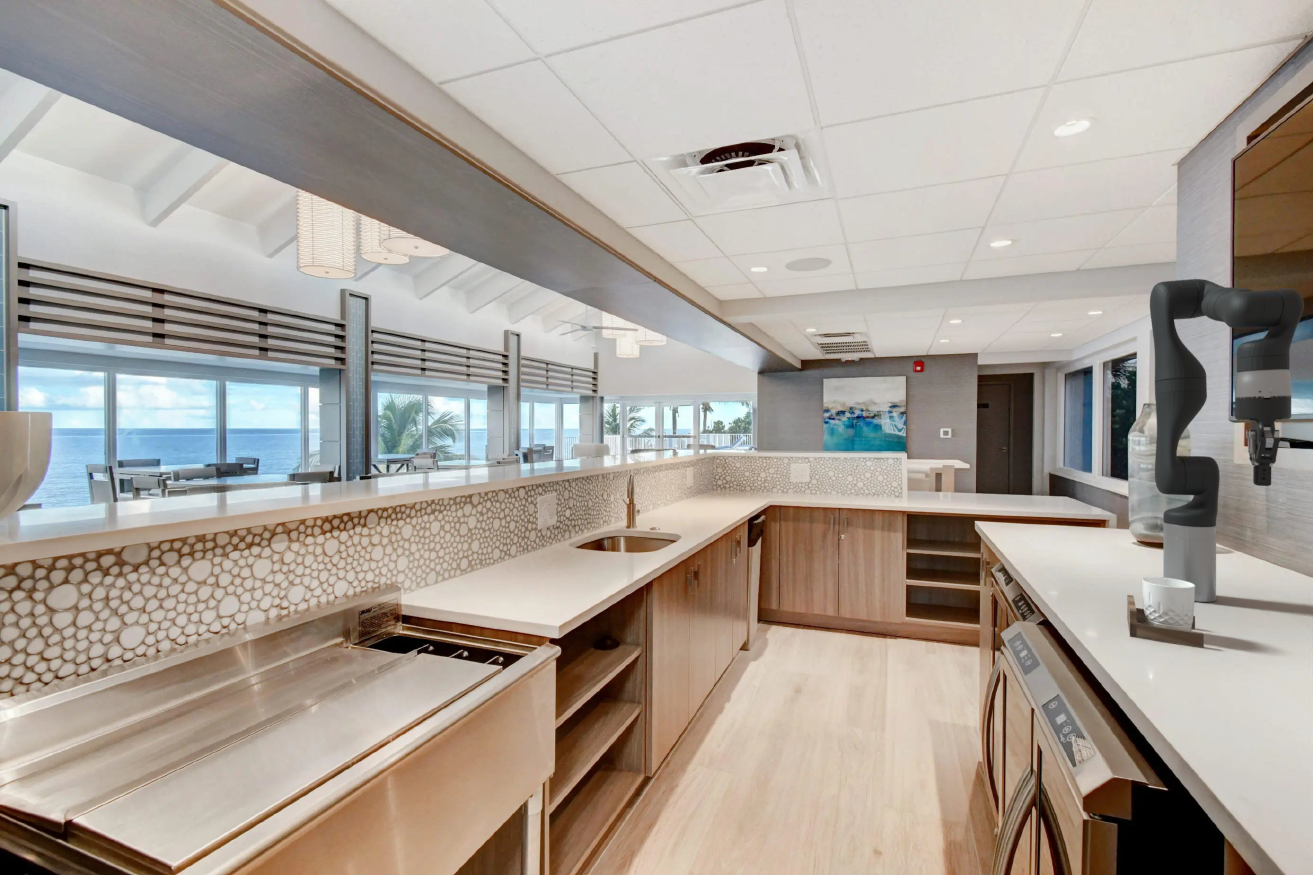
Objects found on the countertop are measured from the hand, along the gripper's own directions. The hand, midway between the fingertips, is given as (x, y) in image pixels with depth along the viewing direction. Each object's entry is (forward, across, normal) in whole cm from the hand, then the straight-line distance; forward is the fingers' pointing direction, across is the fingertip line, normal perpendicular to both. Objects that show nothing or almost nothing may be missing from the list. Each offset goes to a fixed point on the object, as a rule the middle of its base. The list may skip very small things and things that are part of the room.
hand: (1262, 485), depth 112 cm
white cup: (+29, +8, -14) cm, 33 cm away
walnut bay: (+29, +8, -14) cm, 33 cm away
